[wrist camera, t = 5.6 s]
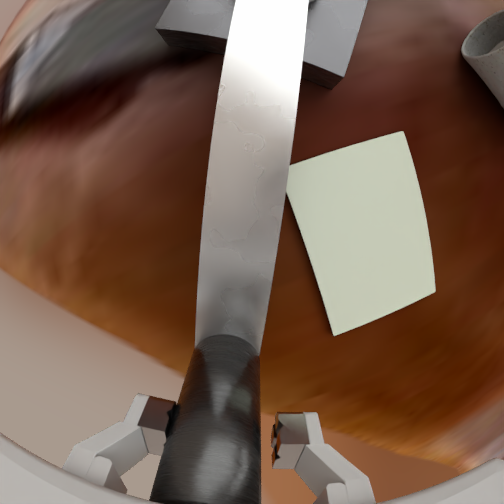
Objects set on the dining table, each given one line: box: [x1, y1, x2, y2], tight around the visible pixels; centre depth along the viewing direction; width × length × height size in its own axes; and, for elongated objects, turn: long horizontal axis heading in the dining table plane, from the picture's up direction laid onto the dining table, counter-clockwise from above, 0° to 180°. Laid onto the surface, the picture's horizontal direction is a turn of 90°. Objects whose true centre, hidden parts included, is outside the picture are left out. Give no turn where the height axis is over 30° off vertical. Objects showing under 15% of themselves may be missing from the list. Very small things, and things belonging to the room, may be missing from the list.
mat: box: [286, 131, 436, 336], centre depth 16 cm, size 11×8×1 cm
